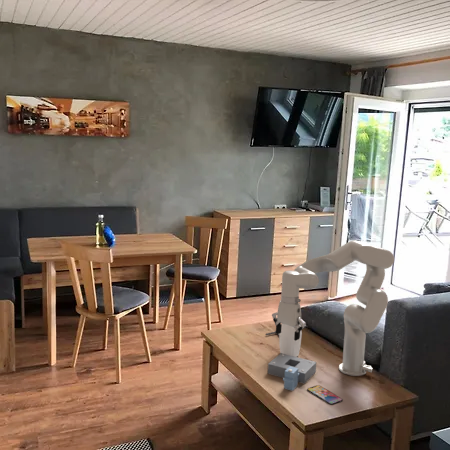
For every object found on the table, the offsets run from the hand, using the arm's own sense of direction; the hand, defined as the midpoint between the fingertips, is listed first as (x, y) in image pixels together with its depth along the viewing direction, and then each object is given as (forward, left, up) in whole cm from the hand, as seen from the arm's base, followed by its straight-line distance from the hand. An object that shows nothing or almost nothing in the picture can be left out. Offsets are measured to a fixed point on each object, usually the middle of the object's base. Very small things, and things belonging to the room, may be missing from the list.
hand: (287, 336), depth 228 cm
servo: (-5, +5, -21) cm, 22 cm away
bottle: (+9, -26, -21) cm, 35 cm away
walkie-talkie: (+22, -48, -21) cm, 57 cm away
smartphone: (-20, +4, -21) cm, 29 cm away
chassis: (0, -8, -21) cm, 22 cm away
